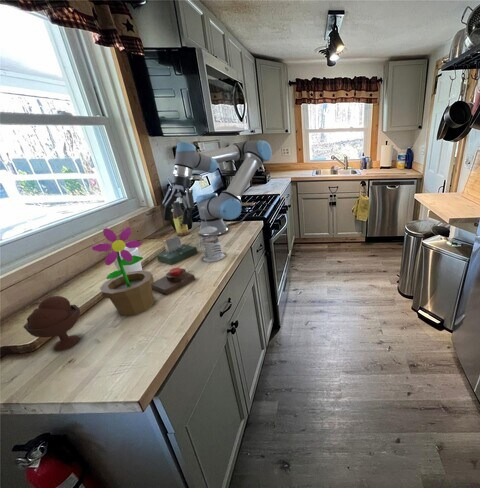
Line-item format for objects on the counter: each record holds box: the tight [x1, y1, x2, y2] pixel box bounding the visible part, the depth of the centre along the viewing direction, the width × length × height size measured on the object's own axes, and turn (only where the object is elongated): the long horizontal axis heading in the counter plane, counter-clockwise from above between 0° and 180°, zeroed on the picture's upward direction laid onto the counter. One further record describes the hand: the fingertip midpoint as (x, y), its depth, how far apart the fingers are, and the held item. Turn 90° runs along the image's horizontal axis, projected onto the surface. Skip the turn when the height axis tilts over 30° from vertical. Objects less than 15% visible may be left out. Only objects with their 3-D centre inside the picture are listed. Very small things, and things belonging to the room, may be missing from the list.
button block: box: [151, 268, 196, 296], centre depth 102 cm, size 12×10×4 cm
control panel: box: [156, 243, 199, 265], centre depth 125 cm, size 14×11×3 cm
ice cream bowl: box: [23, 295, 81, 352], centre depth 71 cm, size 11×11×15 cm
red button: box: [168, 267, 182, 276], centre depth 102 cm, size 4×4×2 cm
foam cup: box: [110, 247, 143, 273], centre depth 104 cm, size 10×9×13 cm
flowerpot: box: [91, 226, 155, 317], centre depth 84 cm, size 14×14×30 cm
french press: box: [196, 206, 226, 263], centre depth 118 cm, size 10×12×25 cm
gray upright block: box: [162, 235, 182, 255], centre depth 122 cm, size 6×2×7 cm, turn 152°
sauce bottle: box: [171, 200, 189, 237], centre depth 150 cm, size 6×6×20 cm
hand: (175, 222), depth 120 cm, fingers open, 13 cm apart
